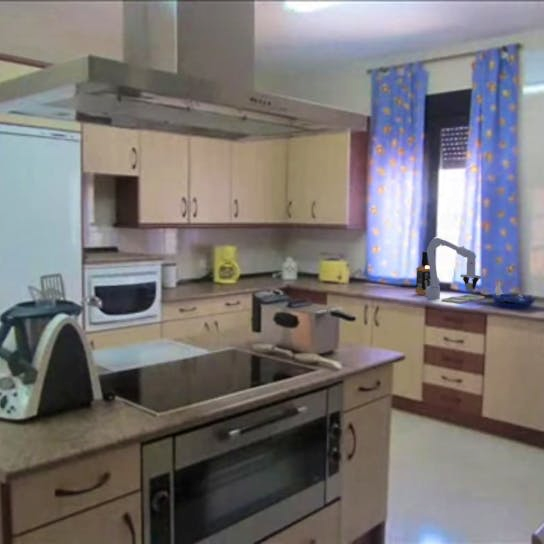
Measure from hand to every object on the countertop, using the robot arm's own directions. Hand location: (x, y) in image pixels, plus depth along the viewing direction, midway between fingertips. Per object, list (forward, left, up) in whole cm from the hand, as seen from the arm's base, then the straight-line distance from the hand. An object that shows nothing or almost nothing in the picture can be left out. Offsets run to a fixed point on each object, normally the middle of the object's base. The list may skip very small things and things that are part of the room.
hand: (470, 288), depth 420 cm
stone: (0, 0, -1) cm, 1 cm away
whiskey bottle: (-39, +4, -9) cm, 40 cm away
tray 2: (0, 0, -8) cm, 8 cm away
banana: (+24, +8, -9) cm, 27 cm away
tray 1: (-3, -15, -8) cm, 17 cm away
